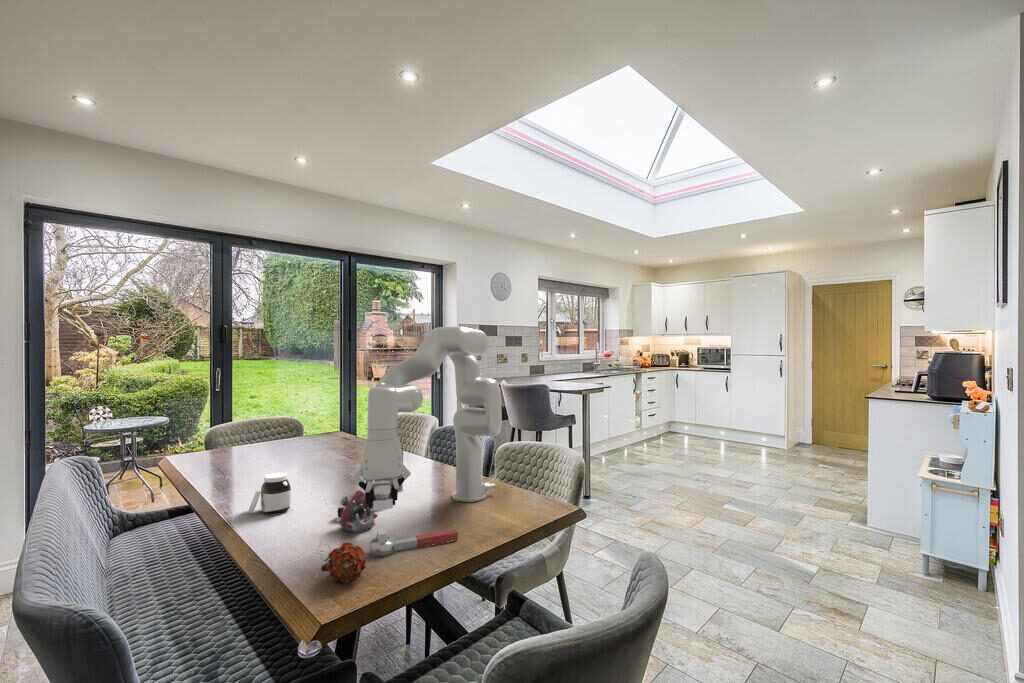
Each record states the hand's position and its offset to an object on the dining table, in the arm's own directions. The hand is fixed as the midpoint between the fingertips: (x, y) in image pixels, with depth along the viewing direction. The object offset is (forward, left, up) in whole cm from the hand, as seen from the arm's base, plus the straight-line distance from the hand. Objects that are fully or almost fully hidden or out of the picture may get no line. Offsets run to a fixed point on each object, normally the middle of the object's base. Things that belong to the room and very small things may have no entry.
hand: (381, 504), depth 117 cm
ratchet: (-9, 0, -13) cm, 15 cm away
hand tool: (0, -32, -13) cm, 35 cm away
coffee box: (-10, -51, -13) cm, 54 cm away
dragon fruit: (+10, +10, -13) cm, 19 cm away
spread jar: (+29, -45, -13) cm, 55 cm away
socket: (0, 0, -1) cm, 1 cm away
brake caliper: (+4, -20, -13) cm, 24 cm away
